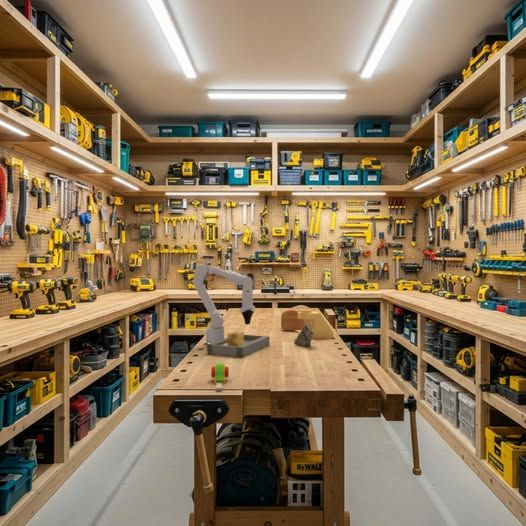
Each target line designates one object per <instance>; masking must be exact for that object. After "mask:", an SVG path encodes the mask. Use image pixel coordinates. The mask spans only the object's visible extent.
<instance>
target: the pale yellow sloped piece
mask: <svg viewBox="0 0 526 526" xmlns="http://www.w3.org/2000/svg"><path fill="white" fill-rule="evenodd" d="M310 309H311V308H310ZM310 309H301V310H300V312H298V319H312V323H311V328H312V331H313V337H312V339H334V332H333V330H332V328H331V327H330V325H329V324H328V322H327V321H326V320H325V318H324V316H323V315H322V314H321V312H318V311H313V310H312V309H311V310H312V312H311V310H310ZM301 331H302V330H299V331H297V336H298V335H299V334H300V333H301Z"/></svg>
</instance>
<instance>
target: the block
mask: <svg viewBox="0 0 526 526" xmlns="http://www.w3.org/2000/svg"><path fill="white" fill-rule="evenodd" d="M226 334H227V337H226V338H227V346H241V345H243V344H244V335H245V331H244V332H243V331H234V330H232V331H231V332H227V333H226Z"/></svg>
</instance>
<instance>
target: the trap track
mask: <svg viewBox="0 0 526 526" xmlns="http://www.w3.org/2000/svg"><path fill="white" fill-rule="evenodd" d="M268 345H269V346H270V336H268V335H257V334H256V335H253V334H244V344H243V345H241V346H227V337H224V339H222V340H219V341H216V342H213V343H210V344H206V350H207V351H206V354H207V353H212V354H211V355H213V354H219V355H218V356H223V355H228V356H227V357H232V356H236V357H235V358H241V357H243V358H245V357H247V356H249V355H251V354H253V353H255V351H256V352H257V350H258V351H260V350H262V349H264V348H266V347H269V346H268ZM265 346H266V347H265ZM263 347H264V348H263ZM261 348H262V349H261ZM259 349H260V350H259ZM250 353H251V354H250ZM248 354H249V355H248ZM246 355H247V356H246ZM244 356H245V357H244Z"/></svg>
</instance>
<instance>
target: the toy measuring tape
mask: <svg viewBox="0 0 526 526" xmlns="http://www.w3.org/2000/svg"><path fill="white" fill-rule="evenodd" d="M229 369H230V368H229V366H227V365H226V363H225V362H219V361H218V362H216V363H214V366H211V369H210V372H211V374H210V377H211V378H214V379H213V380H214V385H216V386H215V391H216V392H222V391H223V384H224V383H226V379H227V378H229V376H230V374H229V371H230V370H229Z"/></svg>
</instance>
